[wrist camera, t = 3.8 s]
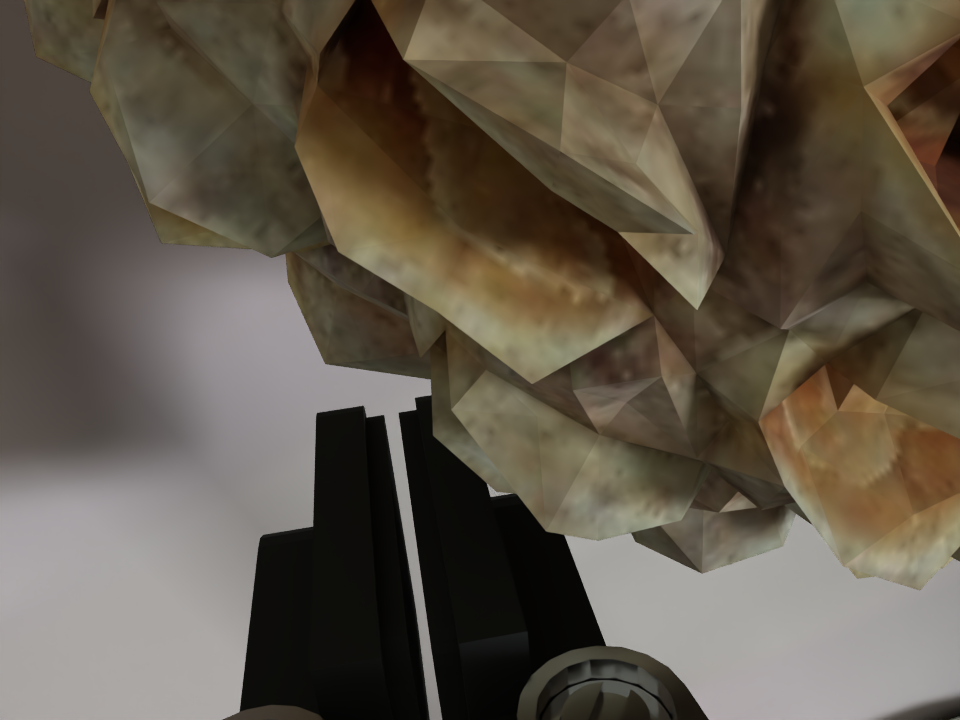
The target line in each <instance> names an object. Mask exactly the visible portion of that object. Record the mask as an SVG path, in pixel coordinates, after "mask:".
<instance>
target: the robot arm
mask: <svg viewBox="0 0 960 720" xmlns="http://www.w3.org/2000/svg"><path fill="white" fill-rule="evenodd" d="M415 402H416V409H417V410H413V411H407V412H401V413H399V419H400V426H401V433H402V440H403V448H404V455H405V462H406V469H407V477H408V484H409V491H410V498H411V505H412V513H413V520H414V527H415V534H416V542H417V549H418V556H419V563H420V570H421V578H422V585H423V592H424V599H425V607H426V614H427V621H428V628H429V635H430V642H431V649H432V655H433V662H434V669H435V675H436V681H437V688H438V694H439V701H440V707H441V713H442V720H709V719H708V718H707V717H706V715H705V714H704V712H703V711H702V709H701V708H700V706H699V705H698V703H697V702H696V700H695V699H694V697H693V696H692V694H691V693H690V691H689V690H688V688H687V687H686V686H685V684H684V683H683V682H682V681H681V680H680V679H679V678H678V677H677V676H676V675H675V674H674V673H673V672H672V670H671V669H670V668H669V667H667V666H665V665H664V664H662V663H660V662H659V661H657V660H655V659H654V658H652V657H650V656H649V655H647V654H643V653H640V652H637V651H633V650H630V649H627V648H623V647H611V646H606V644H605V642H604V639H603V636H602V634H601V631H600V628H599V626H598V623H597V620H596V618H595V615H594V612H593V610H592V607H591V605H590V602H589V599H588V597H587V594H586V591H585V589H584V586H583V583H582V581H581V578H580V575H579V573H578V570H577V568H576V565H575V562H574V560H573V557H572V554H571V552H570V549H569V546H568V544H567V541H566V539H565V536H564V535H563V534H558V533H552V532H547V531H545V529H544V528H543V527H542V526H541V524H540V523H539V522H538V520H537V519H536V518H535V517H534V515H533V514H532V513H531V511H530V510H529V509H528V508H527V506H526V505H525V504H524V502H523V501H522V500H521V499H520V497H519V496H518V495H517V494H508V495H502V496H496V497H490V494H489V490H488V487H487V483H486V482H485V481H484V480H483V479H482V478H481V477H479V476H478V475H477V474H476V473H475V472H474V471H473V470H472V469H470V468H469V467H468V466H467V465H466V464H465V463H464V462H462V461H461V460H460V459H459V458H458V457H457V456H456V455H455V454H453V453H452V452H451V451H450V450H449V449H448V448H447V447H445V446H444V445H443V444H442V443H441V442H440V441H439V440H438V439H436V438H435V437H434V436H433V419H432V395H431V396H424V397H418V398H415ZM223 720H430V719H429V711H428V703H427V695H426V687H425V678H424V670H423V662H422V654H421V646H420V638H419V630H418V622H417V615H416V608H415V601H414V595H413V589H412V582H411V576H410V570H409V564H408V558H407V552H406V546H405V540H404V534H403V528H402V521H401V515H400V509H399V503H398V497H397V491H396V485H395V479H394V473H393V466H392V460H391V454H390V448H389V442H388V436H387V430H386V424H385V418H384V415H381V416H375V417H368V418H366V413H365V408H364V406H359V407H353V408H346V409H340V410H333V411H327V412H320V413H317V416H316V447H315V483H314V520H313V527H309V528H302V529H296V530H290V531H284V532H278V533H272V534H266V535H263V536H262V537H261V538H260V542H259V547H258V555H257V564H256V573H255V582H254V591H253V600H252V608H251V617H250V626H249V635H248V644H247V653H246V661H245V670H244V679H243V688H242V697H241V706H240V712H239V713H237V714H234V715H232V716H230V717H227V718H225V719H223ZM950 720H960V716H959V717H956V718H952V719H950Z"/></svg>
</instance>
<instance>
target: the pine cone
mask: <svg viewBox="0 0 960 720" xmlns="http://www.w3.org/2000/svg"><path fill="white" fill-rule="evenodd" d="M24 3H25V8H26V12H27V17H28V22H29V26H30V31H31V36H32V40H33V45H34V50H35V54H36V57H38V58H40V59H42V60H44V61H46V62H48V63H51V64H53V65H55V66H57V67H59V68H61V69H63V70H65V71H67V72H70V73H72V74H74V75H76V76H78V77H80V78H82V79H84V80H86V81H89V82H91V87H90V94H91V95H92V97H93V99H94V101H95V103H96V105H97V107H98V108H99V110H100V112H101V114H102V116H103V118H104V120H105V121H106V123H107V125H108V127H109V129H110V131H111V132H112V134H113V136H114V138H115V140H116V142H117V144H118V145H119V147H120V149H121V151H122V153H123V155H124V157H125V158H126V160H127V162H128V165H129V167H130V170H131V172H132V174H133V177H134V179H135V181H136V184H137V186H138V189H139V191H140V193H141V196H142V198H143V201H144V203H145V205H146V208H147V210H148V213H149V215H150V217H151V220H152V222H153V225H154V227H155V229H156V232H157V234H158V237H159V239H160V241H161V243H165V244H181V245H196V246H211V247H226V248H242V249H253V250H255V251H258V252H260V253H262V254H264V255H266V256H269V257H271V258H273V257H276V256H279V255H282V254H286V264H287V275H288V283H289V285H290V287H291V289H292V292H293V294H294V296H295V298H296V300H297V303H298V305H299V307H300V309H301V312H302V314H303V316H304V318H305V320H306V323H307V325H308V327H309V329H310V331H311V334H312V336H313V338H314V340H315V342H316V345H317V347H318V349H319V351H320V354H321V356H322V358H323V360H324V362H325V364H329V365H336V366H343V367H350V368H356V369H363V370H370V371H377V372H384V373H391V374H398V375H405V376H411V377H418V378H425V379H431V391H432V419H433V436H434V437H435V438H436V439H438V440H439V441H440V442H441V443H442V444H443V445H444V446H445V447H447V448H448V449H449V450H450V451H451V452H452V453H453V454H455V455H456V456H457V457H458V458H459V459H460V460H461V461H462V462H464V463H465V464H466V465H467V466H468V467H469V468H470V469H472V470H473V471H474V472H475V473H476V474H477V475H478V476H479V477H481V478H482V479H483V480H484V481H485V482H486V483H487V484H489V485H490V486H491V487H492V488H493V489H494V490H495V491H496V492H505V493H514V494H517V495H518V496H519V497H520V499H521V500H522V501H523V502H524V504H525V505H526V506H527V508H528V509H529V510H530V511H531V513H532V514H533V515H534V517H535V518H536V519H537V520H538V522H539V523H540V524H541V526H542V527H543V528H544V529H545V531H547V532H552V533H558V534H563V535H569V536H574V537H580V538H585V539H591V540H597V541H599V540H603V539H607V538H611V537H615V536H619V535H623V534H628V533H631V534H632V536H633V538H634V540H635V542H637V543H639V544H641V545H644V546H646V547H648V548H650V549H652V550H654V551H656V552H658V553H660V554H662V555H664V556H667V557H669V558H671V559H673V560H675V561H677V562H679V563H681V564H683V565H685V566H687V567H689V568H692V569H694V570H696V571H698V572H700V573H705V572H708V571H711V570H714V569H717V568H720V567H723V566H726V565H729V564H732V563H735V562H738V561H741V560H744V559H747V558H749V557H752V556H755V555H758V554H761V553H764V552H767V551H770V550H773V549H776V548H779V547H782V546H783V545H784V543H785V540H786V538H787V535H788V533H789V530H790V528H791V525H792V523H793V520H794V518H795V515H796V514H797V515H799V516H800V517H802V518H803V519H805V520H806V521H807V522H809V523H810V524H812V525H813V526H814V527H815V528H816V530H817V531H818V533H819V534H820V535H821V537H822V538H823V539H824V541H825V542H826V543H827V545H828V546H829V548H830V549H831V550H832V552H833V553H834V554H835V556H836V557H837V558H838V560H839V561H840V563H841V564H842V565H843V566H844V567H847V568H849V569H850V570H851V571H852V573H853V574H854V575H855V576H856V578H857V579H858V578H866V577H874V576H876V577H879V578H882V579H885V580H888V581H892V582H895V583H898V584H901V585H904V586H908V587H911V588H914V589H917V590H921V589H922V588H923V587H924V585H925V584H926V583H927V582H928V581H929V580H930V579H931V578H932V577H933V576H934V574H935V573H936V572H937V571H938V570H939V569H940V568H944V567H945V566H946V565H947V564H948V563H949V562H950V561H952V560H953V559H956V560H958V561H960V0H24Z"/></svg>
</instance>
